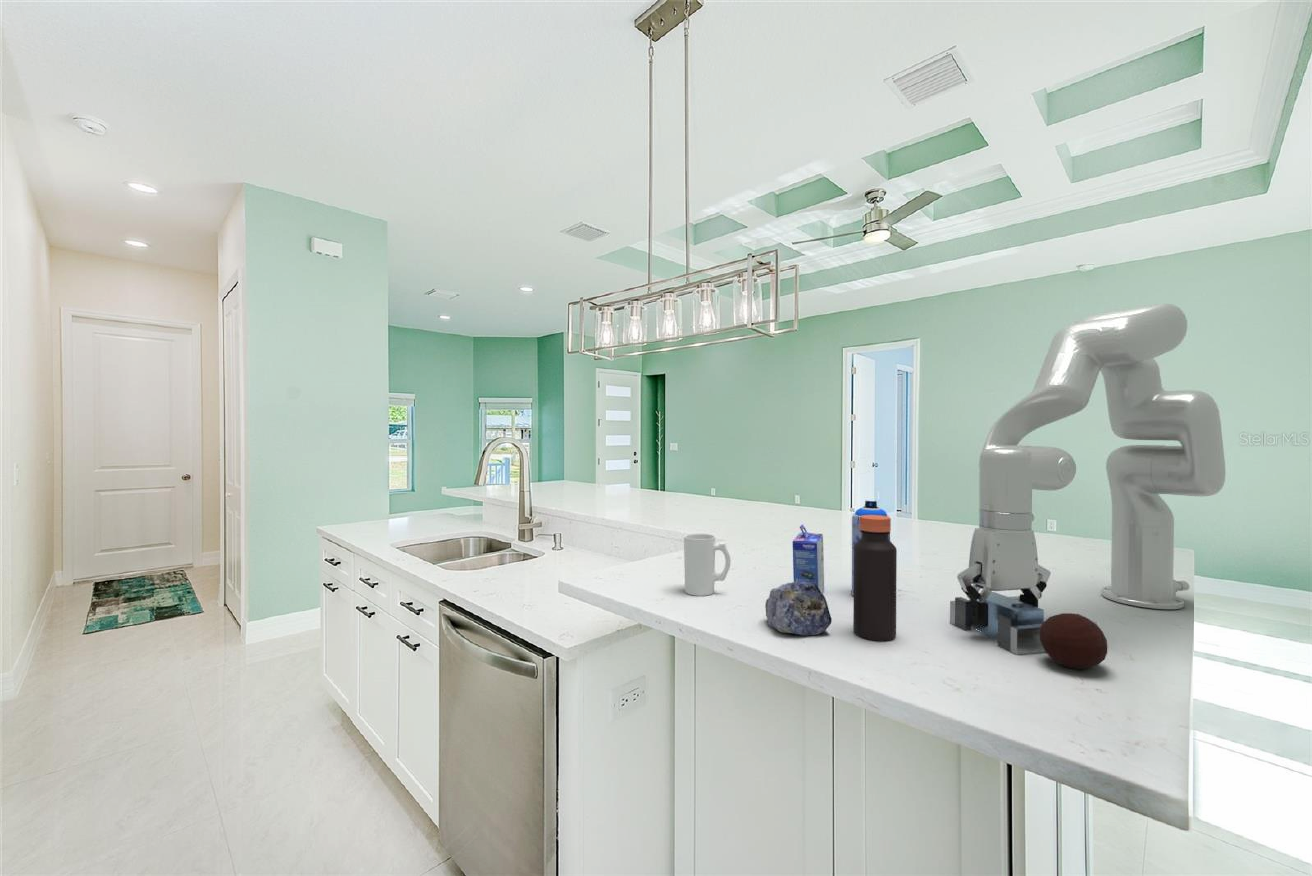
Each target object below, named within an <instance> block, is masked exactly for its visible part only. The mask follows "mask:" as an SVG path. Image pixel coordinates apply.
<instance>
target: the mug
mask: <svg viewBox="0 0 1312 876" xmlns="http://www.w3.org/2000/svg"><path fill="white" fill-rule="evenodd" d="M716 551H720V552H721V553H723V555H724V559H725V564H724V568H723V570H722V571H721V572H720V573H718V572H716V570H715V567H716ZM683 552H684V553H683V557H684V559H683V561H684V562H683V563H684V589H685V590H684V592H685V593H686V594H687V593H688V595H690V596H696V597H706V596H711V595H713V594H714V593H715V583H716V582H718V581H720V582H723V581H725V580H726V578H727V576H728V572H729V571H730V567H731V561H732V560H731V555H730V552H729V549H728V547H727V543H726V542H720V543H718V544H717V543H716V535H713V534H708V533H688V534H685V535H684V536H683Z"/></svg>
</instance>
